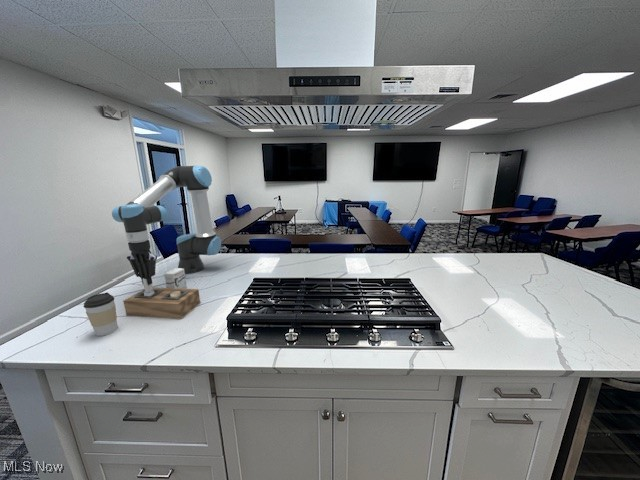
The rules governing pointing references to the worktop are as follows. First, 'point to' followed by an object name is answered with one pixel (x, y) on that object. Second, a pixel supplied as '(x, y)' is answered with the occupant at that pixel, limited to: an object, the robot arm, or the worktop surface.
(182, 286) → the ink box
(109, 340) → the worktop surface
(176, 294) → the birch dowel
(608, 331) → the worktop surface
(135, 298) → the walnut block
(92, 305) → the coffee cup
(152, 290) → the steel pin
